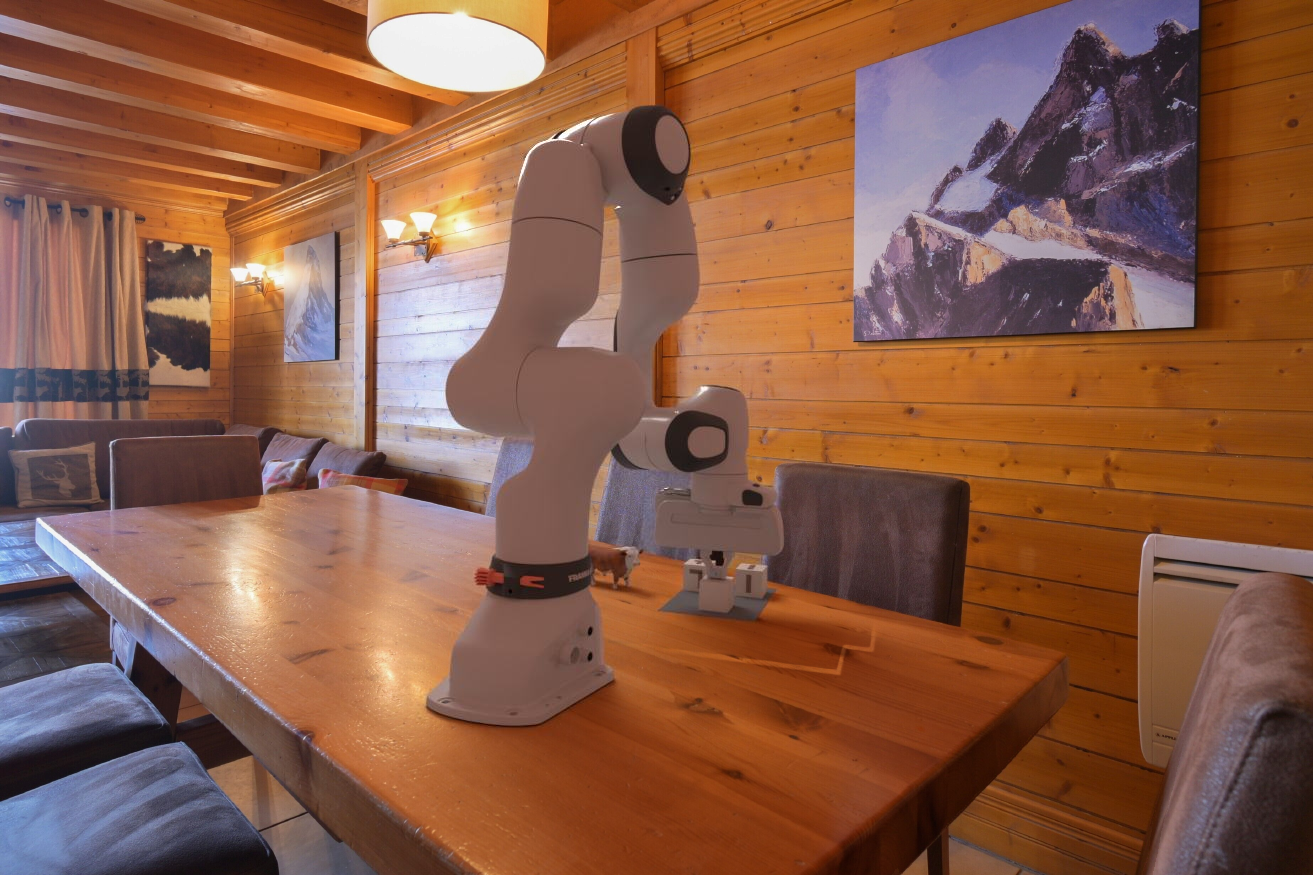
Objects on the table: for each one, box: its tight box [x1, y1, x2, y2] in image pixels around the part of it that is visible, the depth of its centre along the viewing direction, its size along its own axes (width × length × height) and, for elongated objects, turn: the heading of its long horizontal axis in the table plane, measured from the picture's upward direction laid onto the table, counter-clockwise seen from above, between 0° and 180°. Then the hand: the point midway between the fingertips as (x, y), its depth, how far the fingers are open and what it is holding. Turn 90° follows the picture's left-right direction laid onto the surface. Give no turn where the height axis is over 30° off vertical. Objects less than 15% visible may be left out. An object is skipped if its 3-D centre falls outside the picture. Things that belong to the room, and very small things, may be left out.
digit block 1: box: [734, 562, 768, 599], centre depth 124 cm, size 5×4×5 cm
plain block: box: [699, 575, 735, 613], centre depth 115 cm, size 4×4×4 cm
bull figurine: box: [588, 543, 644, 590], centre depth 127 cm, size 4×13×8 cm, turn 53°
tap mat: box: [657, 583, 777, 623], centre depth 120 cm, size 20×15×1 cm
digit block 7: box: [682, 558, 717, 592], centre depth 126 cm, size 5×4×5 cm
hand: (716, 578), depth 115 cm, fingers closed
